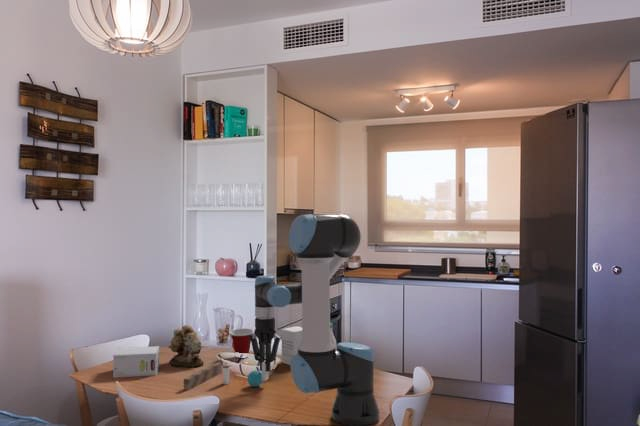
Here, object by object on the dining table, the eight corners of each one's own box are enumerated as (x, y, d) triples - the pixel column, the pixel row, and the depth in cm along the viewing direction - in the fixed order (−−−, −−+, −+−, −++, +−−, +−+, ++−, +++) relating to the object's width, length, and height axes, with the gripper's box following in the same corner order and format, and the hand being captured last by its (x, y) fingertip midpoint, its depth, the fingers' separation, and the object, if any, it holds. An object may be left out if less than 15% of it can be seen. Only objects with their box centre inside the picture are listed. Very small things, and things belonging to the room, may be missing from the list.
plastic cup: (225, 358, 245) (225, 332, 246) (237, 353, 256) (237, 327, 256) (246, 361, 242) (246, 334, 242) (257, 355, 252) (257, 329, 252)
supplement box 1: (112, 378, 218) (112, 354, 218) (118, 369, 231) (118, 347, 231) (156, 375, 221) (156, 352, 221) (159, 366, 234) (159, 345, 234)
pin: (227, 384, 208) (227, 362, 208) (221, 384, 209) (221, 361, 209) (230, 382, 210) (230, 360, 210) (224, 382, 211) (224, 360, 211)
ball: (261, 379, 201) (249, 369, 203) (253, 392, 202) (241, 381, 204) (268, 375, 207) (257, 365, 208) (260, 387, 208) (249, 377, 209)
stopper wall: (188, 390, 201) (188, 379, 201) (183, 389, 202) (183, 379, 202) (221, 372, 224) (221, 363, 224) (217, 372, 224) (217, 362, 224)
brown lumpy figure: (160, 364, 237) (160, 325, 237) (179, 358, 247) (179, 321, 248) (191, 370, 228) (191, 329, 228) (210, 363, 238) (210, 324, 239)
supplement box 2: (296, 359, 245) (296, 325, 245) (309, 362, 238) (309, 328, 238) (280, 362, 239) (280, 328, 239) (294, 366, 232) (293, 331, 232)
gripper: (284, 316, 206) (285, 378, 206) (254, 314, 210) (254, 374, 210) (276, 320, 199) (276, 384, 199) (244, 317, 203) (245, 380, 204)
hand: (265, 379), depth 205 cm, fingers closed
